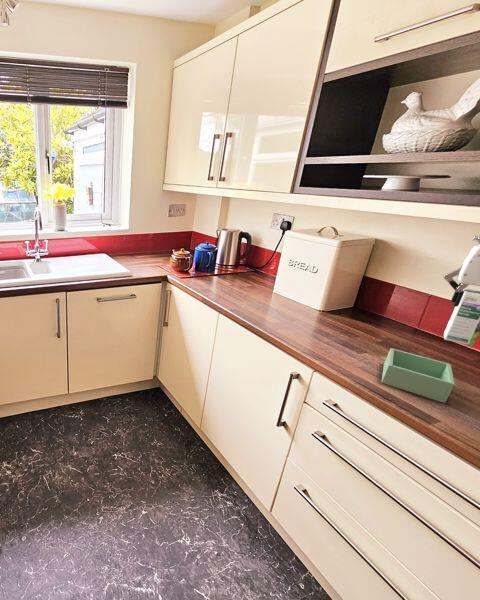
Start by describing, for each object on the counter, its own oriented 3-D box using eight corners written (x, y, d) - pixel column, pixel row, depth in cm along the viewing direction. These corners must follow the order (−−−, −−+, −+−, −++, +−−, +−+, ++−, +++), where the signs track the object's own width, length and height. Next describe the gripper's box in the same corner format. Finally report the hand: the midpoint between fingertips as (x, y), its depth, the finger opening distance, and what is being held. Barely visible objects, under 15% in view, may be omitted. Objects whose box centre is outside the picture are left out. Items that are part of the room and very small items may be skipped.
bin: (441, 381, 94) (450, 364, 92) (445, 403, 86) (454, 384, 84) (383, 364, 102) (390, 347, 100) (381, 382, 94) (388, 365, 91)
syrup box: (443, 339, 95) (464, 292, 90) (443, 333, 99) (463, 286, 94) (472, 346, 92) (497, 297, 86) (471, 339, 95) (494, 291, 90)
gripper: (455, 240, 88) (428, 304, 95) (562, 250, 77) (524, 321, 84) (452, 236, 93) (428, 297, 100) (553, 245, 82) (518, 312, 89)
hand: (472, 307), depth 92 cm, fingers closed on syrup box, 5 cm apart
